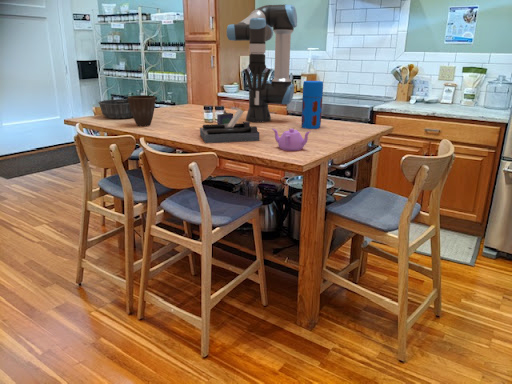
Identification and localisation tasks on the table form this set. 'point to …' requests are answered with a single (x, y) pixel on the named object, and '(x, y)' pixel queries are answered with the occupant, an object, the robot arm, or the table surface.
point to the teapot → (291, 140)
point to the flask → (224, 118)
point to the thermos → (312, 104)
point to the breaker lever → (236, 116)
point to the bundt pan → (116, 108)
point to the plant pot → (142, 109)
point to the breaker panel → (229, 133)
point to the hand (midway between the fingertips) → (256, 104)
